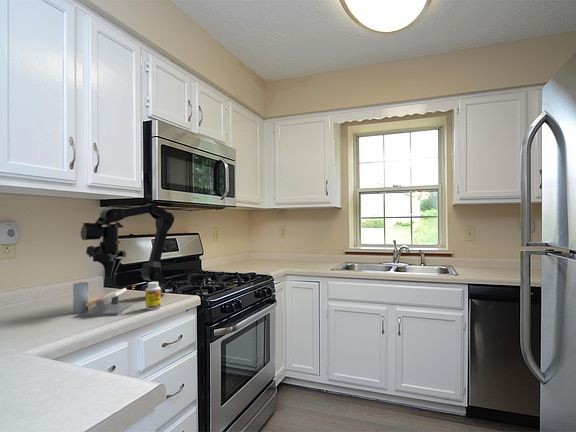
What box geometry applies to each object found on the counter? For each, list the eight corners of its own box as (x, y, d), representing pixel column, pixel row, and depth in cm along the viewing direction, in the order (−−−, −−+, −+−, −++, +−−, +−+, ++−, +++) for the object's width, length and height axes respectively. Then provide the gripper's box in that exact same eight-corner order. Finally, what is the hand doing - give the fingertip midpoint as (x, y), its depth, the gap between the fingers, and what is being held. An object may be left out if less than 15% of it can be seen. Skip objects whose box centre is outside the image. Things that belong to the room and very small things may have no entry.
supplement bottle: (147, 311, 130) (146, 284, 130) (144, 308, 134) (144, 282, 134) (162, 308, 133) (162, 282, 133) (159, 305, 137) (158, 280, 138)
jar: (77, 310, 133) (77, 282, 133) (90, 309, 133) (90, 281, 133) (70, 313, 128) (70, 284, 128) (84, 313, 128) (84, 284, 128)
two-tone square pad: (101, 301, 137) (99, 296, 137) (128, 291, 138) (126, 287, 138) (86, 309, 125) (84, 304, 125) (116, 298, 126) (114, 293, 126)
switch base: (99, 306, 139) (99, 292, 139) (132, 304, 140) (132, 291, 140) (80, 317, 123) (80, 301, 123) (117, 315, 124) (117, 300, 124)
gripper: (99, 238, 148) (99, 273, 148) (78, 240, 129) (78, 281, 129) (126, 237, 149) (126, 272, 149) (109, 239, 131) (109, 280, 130)
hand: (110, 276), depth 139 cm, fingers open, 3 cm apart
